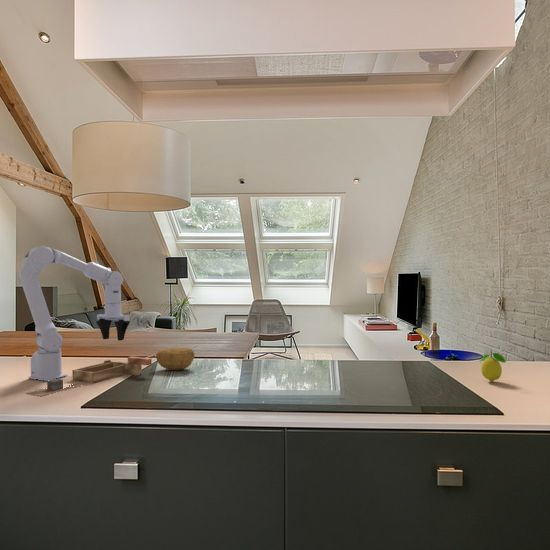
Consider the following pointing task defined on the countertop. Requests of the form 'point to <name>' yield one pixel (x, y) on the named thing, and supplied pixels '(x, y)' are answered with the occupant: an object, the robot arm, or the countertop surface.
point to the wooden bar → (140, 360)
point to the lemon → (492, 366)
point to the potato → (175, 358)
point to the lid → (52, 388)
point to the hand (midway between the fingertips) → (113, 339)
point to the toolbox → (106, 371)
